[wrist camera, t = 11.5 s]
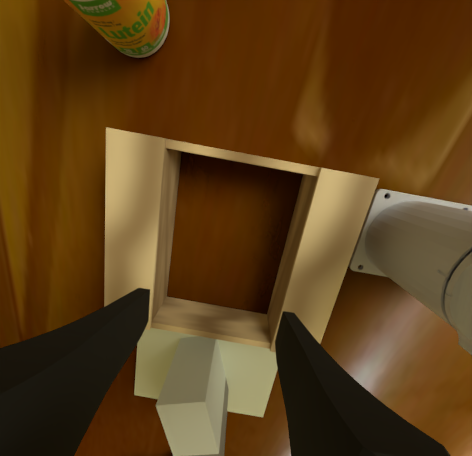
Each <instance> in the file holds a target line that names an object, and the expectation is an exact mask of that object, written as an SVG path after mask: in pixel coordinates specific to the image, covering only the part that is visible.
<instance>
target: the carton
mask: <svg viewBox="0 0 472 456" xmlns="http://www.w3.org/2000/svg"><path fill="white" fill-rule="evenodd" d="M182 152H187V153H192V154H198V155H203V156H208V157H214V158H219V159H224V160H230V161H235V162H240V163H246V164H251V165H256V166H262V167H267V168H272V169H278V170H283V171H288V172H294V173H299V174H303V177H302V181H301V185H300V189H299V193H298V197H297V200H296V204H295V208H294V212H293V216H292V220H291V224H290V227H289V231H288V235H287V239H286V243H285V247H284V251H283V254H282V258H281V262H280V266H279V270H278V274H277V278H276V282H275V285H274V289H273V293H272V297H271V301H270V305H269V309H268V312H267V314H261V313H256V312H250V311H245V310H239V309H234V308H228V307H222V306H217V305H211V304H206V303H200V302H194V301H189V300H183V299H178V298H172V297H167V289H168V279H169V270H170V260H171V250H172V241H173V231H174V221H175V211H176V202H177V192H178V182H179V172H180V163H181V153H182ZM378 181H379V178H373V177H368V176H363V175H357V174H352V173H347V172H341V171H336V170H331V169H325V168H319V167H313V166H308V165H303V164H297V163H292V162H287V161H281V160H276V159H271V158H265V157H260V156H255V155H249V154H244V153H239V152H233V151H228V150H223V149H217V148H212V147H207V146H201V145H196V144H191V143H185V142H180V141H175V140H169V139H165V138H160V137H155V136H149V135H144V134H139V133H133V132H128V131H123V130H117V129H112V128H107V127H106V188H105V290H104V307H105V306H107V305H109V304H110V303H112V302H114V301H116V300H118V299H119V298H121V297H123V296H125V295H126V294H128V293H130V292H132V291H134V290H135V289H137V288H144V289H150V302H149V321H148V323H147V326H146V328H145V329H146V330H150V328H156V329H161V330H167V331H173V332H178V333H184V334H189V335H195V336H201V337H206V338H212V339H218V340H223V341H229V342H235V343H240V344H246V345H252V346H257V347H263V348H269V349H270V351H271V352H276V349H275V340H276V336H277V332H278V328H279V324H280V320H281V316H282V312H283V311H286V312H293V313H295V314H296V316H297V317H298V318H299V319H300V321H301V322H302V323H303V324H304V326H305V327H306V328H307V329H308V331H309V332H310V333H311V334H312V336H313V337H314V338H315V339H316V340H317V342H318V343H319V344H320V343H321V340H322V338H323V335H324V332H325V329H326V326H327V324H328V321H329V318H330V315H331V312H332V310H333V307H334V304H335V301H336V298H337V296H338V293H339V290H340V287H341V284H342V282H343V279H344V276H345V273H346V270H347V268H348V265H349V262H350V259H351V256H352V254H353V251H354V248H355V245H356V242H357V240H358V237H359V234H360V231H361V228H362V226H363V223H364V220H365V217H366V214H367V212H368V209H369V206H370V203H371V200H372V198H373V195H374V192H375V189H376V186H377V184H378Z"/></svg>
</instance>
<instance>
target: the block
mask: <svg viewBox="0 0 472 456" xmlns="http://www.w3.org/2000/svg"><path fill="white" fill-rule="evenodd" d="M228 392H229V389H228V384H227V380H226V375H225V371H224V366H223V362H222V357H221V353H220V348H219V344H218V339H212V338H206V337H201V336H195V337H185V338H181V339H180V341H179V344H178V347H177V349H176V352H175V355H174V358H173V360H172V363H171V366H170V368H169V371H168V374H167V376H166V379H165V382H164V384H163V387H162V390H161V393H160V395H159V398H158V401H157V403H156V408H157V411H158V414H159V417H160V419H161V422H162V425H163V428H164V431H165V434H166V437H167V440H168V442H169V445H170V448H171V451H172V454H173V456H224V448H225V434H226V420H227V406H228Z"/></svg>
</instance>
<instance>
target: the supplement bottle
mask: <svg viewBox="0 0 472 456" xmlns="http://www.w3.org/2000/svg"><path fill="white" fill-rule="evenodd" d="M64 1H65V2H66V3H67V4H68V5H69V6H70V7H71V8H72V9H73V10H74V11H76V12H77V13H78V14H79V15H80V16H81V17H82V18H83V19H84V20H85V21H86V22H88V23H89V24H90V25H91V26H92V27H93V28H94V29H95V30H96V31H97V32H98V33H99V34H101V35H102V36H103V37H104V38H105V39H106V40H107V41H108V42H109V43H110V44H111V45H113V46H114V47H115V48H116V49H117V50H119V51H120V52H122V53H123V54H125V55H128V56H131V57H135V58H142V57H147V56H150V55H152V54H153V53H155V52H156V51H157V50H158V49H159V48H160V47H161V46H162V44H163V43H164V41H165V39H166V37H167V34H168V30H169V10H168V5H167V2H166V0H64Z"/></svg>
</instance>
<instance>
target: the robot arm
mask: <svg viewBox="0 0 472 456" xmlns="http://www.w3.org/2000/svg"><path fill="white" fill-rule="evenodd" d="M386 193H387V194H388V196H387V197H386V198H385V197H384V195H385V194H386ZM463 208H464V210H463ZM359 265H361V267H360V268H358V266H359ZM349 268H350V269H351V270H353V271H357V272H363V273H368V274H374V275H379V276H385V277H389V278H390V279H391V280H393V281H394V282H395V283H397V284H398V285H399V286H400V287H402V288H403V289H404V290H406V291H407V292H408V293H409V294H411V295H412V296H413V297H415V298H416V299H417V300H418V301H420V302H421V303H422V304H424V305H425V306H426V307H428V308H429V309H430V310H431V311H433V312H434V313H435V314H437V315H438V316H439V317H440V318H442V319H443V320H444V321H446V322H447V323H448V324H449V325H451V326H452V327H453V328H455V329H456V331H457V332H458V335H459V342H458V344H459V345H460V346H461V347H463V348H464V349H465V350H466V351H467V352H469V353H470V354H471V355H472V206H471V205H465V204H460V203H455V202H449V201H444V200H439V199H433V198H428V197H422V196H417V195H412V194H406V193H401V192H396V191H390V190H385V189H378V190H376V191H375V193H374V195H373V198H372V200H371V203H370V206H369V209H368V212H367V215H366V217H365V220H364V223H363V226H362V229H361V231H360V234H359V237H358V240H357V243H356V245H355V248H354V251H353V254H352V257H351V259H350V262H349ZM149 302H150V289H144V288H137V289H135V290H134V291H132V292H130V293H128V294H126V295H125V296H123V297H121V298H119V299H118V300H116V301H114V302H112V303H110V304H109V305H107V306H105V307H103V308H101V309H99V310H97V311H95V312H93V313H91V314H89V315H87V316H85V317H83V318H81V319H79V320H77V321H75V322H72V323H70V324H68V325H65V326H63V327H61V328H58V329H56V330H53V331H50V332H48V333H45V334H42V335H39V336H36V337H34V338H31V339H28V340H25V341H22V342H19V343H16V344H13V345H9V346H6V347H3V348H0V456H74V455H75V453H76V451H77V448H78V446H79V444H80V442H81V440H82V438H83V436H84V434H85V433H86V431H87V429H88V427H89V425H90V423H91V421H92V419H93V417H94V415H95V413H96V411H97V409H98V407H99V405H100V403H101V402H102V400H103V398H104V396H105V394H106V392H107V391H108V389H109V387H110V385H111V384H112V382H113V381H114V379H115V377H116V376H117V374H118V373H119V371H120V370H121V368H122V367H123V365H124V363H125V362H126V360H127V359H128V357H129V356H130V354H131V353H132V351H133V349H134V348H135V346H136V345H137V343H138V341H139V340H140V338H141V336H142V334H143V332H144V330H145V328H146V326H147V323H148V321H149ZM275 349H276V362H277V367H278V372H279V378H280V383H281V388H282V393H283V398H284V403H285V408H286V414H287V420H288V429H289V438H290V447H291V456H450V454H449V453H448V451H447V450H446V449H445V447H444V446H443V445H441V444H440V443H438V442H437V441H435V440H434V439H432V438H431V437H429V436H428V435H426V434H425V433H423V432H422V431H420V430H419V429H418V428H416V427H415V426H413V425H412V424H410V423H409V422H407V421H406V420H404V419H403V418H402V417H400V416H399V415H398V414H396V413H395V412H394V411H392V410H391V409H389V408H388V407H387V406H386V405H384V404H383V403H382V402H380V401H379V400H378V399H377V398H375V397H374V396H373V395H372V394H371V393H369V392H368V391H367V390H366V389H365V388H363V387H362V386H361V385H360V384H359V383H358V382H356V381H355V380H354V379H353V378H352V377H351V376H350V375H349V374H348V373H347V372H346V371H345V370H344V369H343V368H342V367H340V366H339V365H338V364H337V362H336V361H335V360H334V359H333V358H332V357H331V356H330V355H329V354H328V353H327V352H326V351H325V350H324V349H323V347H322V346H321V345H320V344H319V343H318V342H317V340H316V339H315V338H314V337H313V336H312V334H311V333H310V332H309V331H308V329H307V328H306V327H305V326H304V324H303V323H302V322H301V321H300V319H299V318H298V317H297V316H296V314H295V313H293V312H286V311H283V312H282V316H281V320H280V324H279V328H278V332H277V336H276V340H275Z"/></svg>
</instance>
